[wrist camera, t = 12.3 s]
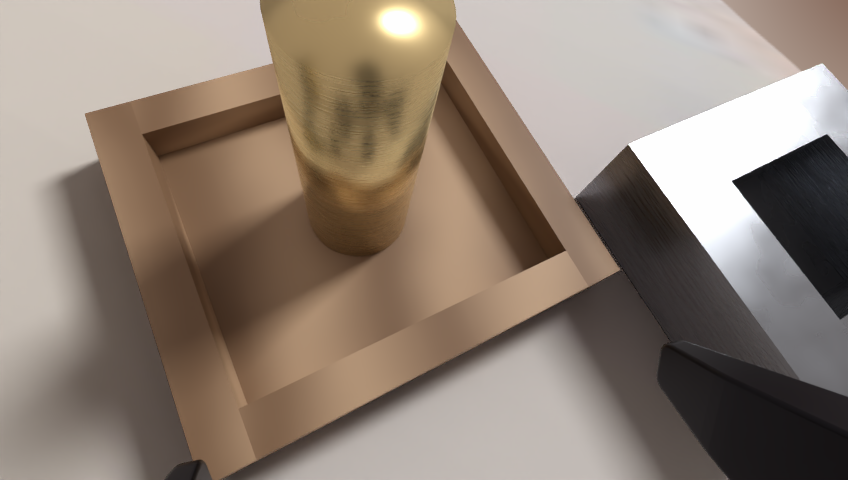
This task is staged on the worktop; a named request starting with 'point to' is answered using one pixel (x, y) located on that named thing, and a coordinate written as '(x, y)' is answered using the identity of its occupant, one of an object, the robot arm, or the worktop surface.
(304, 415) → the walnut tray
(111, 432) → the worktop surface
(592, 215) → the chuck socket
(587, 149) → the worktop surface
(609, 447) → the worktop surface
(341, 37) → the tan rounded piece
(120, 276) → the worktop surface
